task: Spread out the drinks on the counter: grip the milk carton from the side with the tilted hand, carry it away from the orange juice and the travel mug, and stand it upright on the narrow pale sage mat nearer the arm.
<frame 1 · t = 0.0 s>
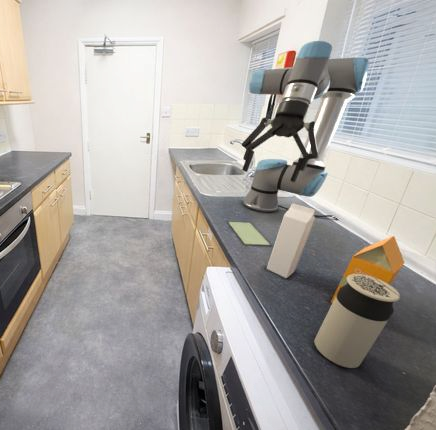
hand: (267, 176, 79), 28 cm above the worktop, tool tilted 20°, fingers open, 13 cm apart
milk: (280, 270, 83), on the worktop
travel mug: (335, 352, 57), on the worktop
sage mat: (247, 233, 105), on the worktop
orange juice: (353, 305, 70), on the worktop
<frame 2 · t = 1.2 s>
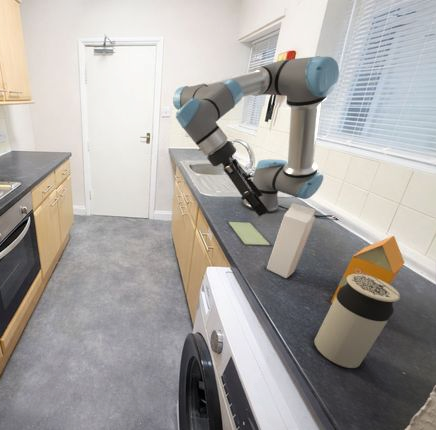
hand: (261, 204, 78), 21 cm above the worktop, tool tilted 45°, fingers open, 13 cm apart
nothing on the worktop moved.
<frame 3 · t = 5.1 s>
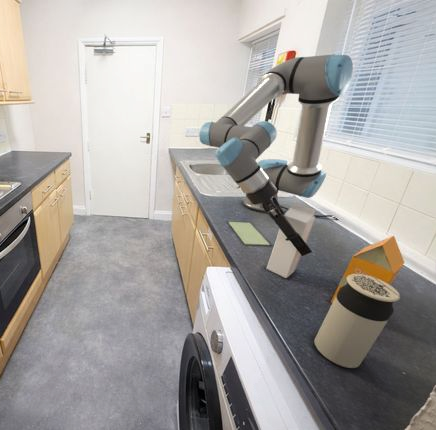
hand: (302, 245, 78), 10 cm above the worktop, tool tilted 45°, fingers closed on milk, 8 cm apart
milk: (280, 270, 83), on the worktop, touching gripper
everything else where it was.
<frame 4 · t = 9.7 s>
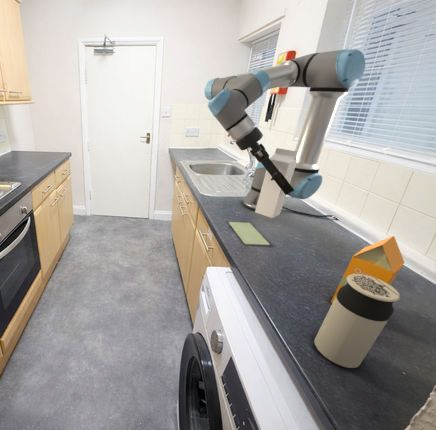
hand: (286, 187, 87), 22 cm above the worktop, tool tilted 45°, fingers closed on milk, 8 cm apart
milk: (267, 213, 92), point 12 cm above the worktop, touching gripper
everything else where it was.
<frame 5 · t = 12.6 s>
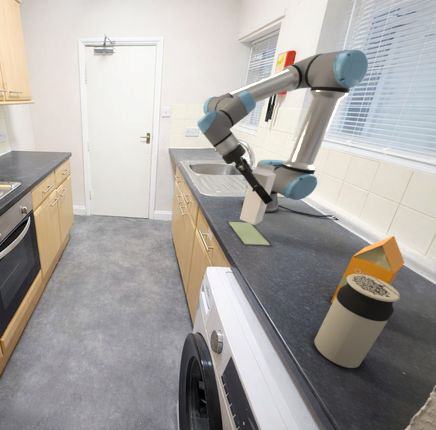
hand: (267, 198, 97), 16 cm above the worktop, tool tilted 45°, fingers closed on milk, 8 cm apart
milk: (250, 220, 103), point 6 cm above the worktop, touching gripper
everything else where it was.
when the fingers open (10 cm above the worktop, at t = 14.6 s): milk stays where it is, resting on sage mat.
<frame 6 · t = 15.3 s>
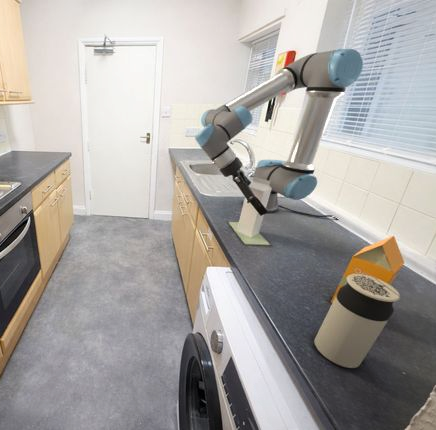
hand: (262, 206, 99), 12 cm above the worktop, tool tilted 45°, fingers open, 13 cm apart
milk: (247, 232, 105), resting on sage mat
everything else where it was.
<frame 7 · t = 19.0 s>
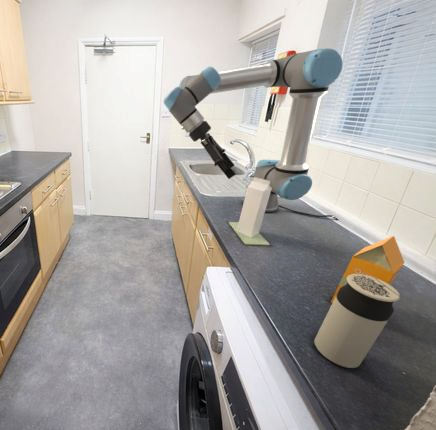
hand: (231, 171, 98), 24 cm above the worktop, tool tilted 45°, fingers open, 13 cm apart
nothing on the worktop moved.
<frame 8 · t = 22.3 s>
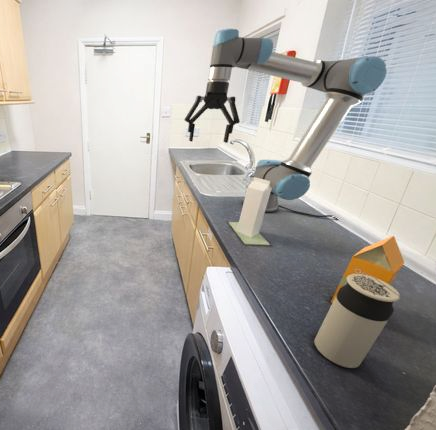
hand: (208, 141, 104), 33 cm above the worktop, tool pointing down, fingers open, 13 cm apart
nothing on the worktop moved.
at the end: milk inside the target area on the sage mat (0.1 cm from its centre), point 0.2 cm above the sage mat's base; milk tilted 0° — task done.
